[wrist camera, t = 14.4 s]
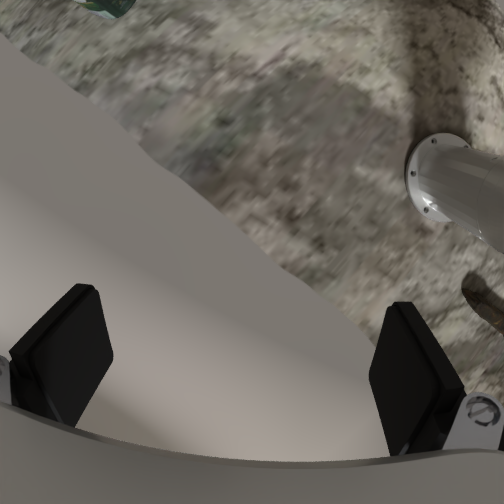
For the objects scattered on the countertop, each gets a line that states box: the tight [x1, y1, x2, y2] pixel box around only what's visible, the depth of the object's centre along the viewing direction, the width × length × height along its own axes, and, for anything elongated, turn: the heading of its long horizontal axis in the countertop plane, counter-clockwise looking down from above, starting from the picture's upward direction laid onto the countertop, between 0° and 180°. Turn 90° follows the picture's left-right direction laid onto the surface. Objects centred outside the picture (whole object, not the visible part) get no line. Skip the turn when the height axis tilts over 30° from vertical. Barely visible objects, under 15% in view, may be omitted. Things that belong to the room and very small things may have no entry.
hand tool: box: [462, 289, 504, 336], centre depth 44 cm, size 19×4×5 cm, turn 59°
